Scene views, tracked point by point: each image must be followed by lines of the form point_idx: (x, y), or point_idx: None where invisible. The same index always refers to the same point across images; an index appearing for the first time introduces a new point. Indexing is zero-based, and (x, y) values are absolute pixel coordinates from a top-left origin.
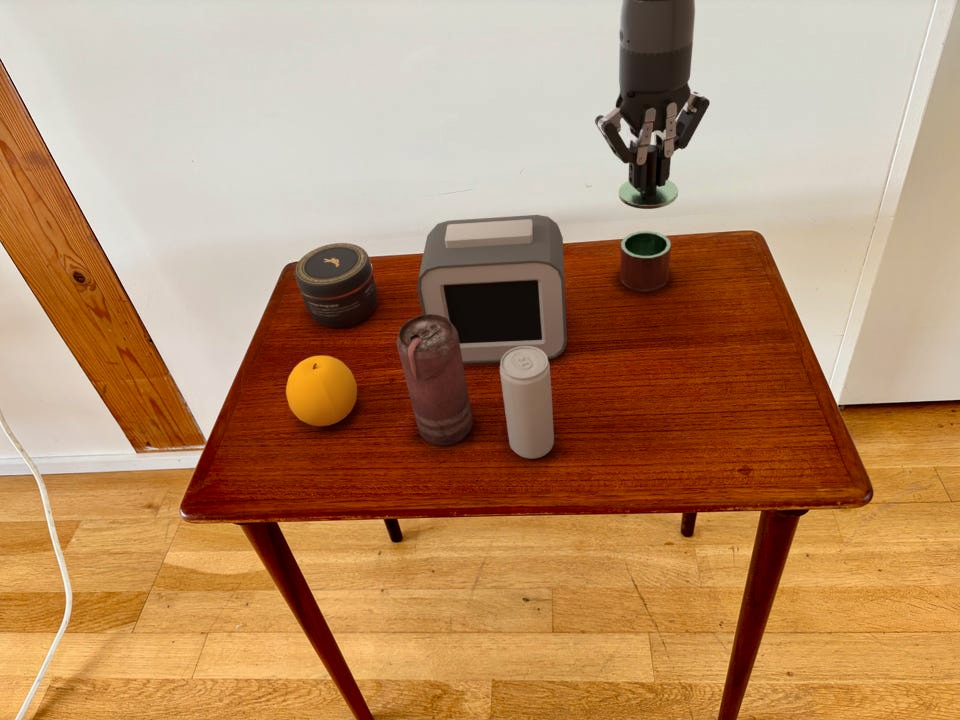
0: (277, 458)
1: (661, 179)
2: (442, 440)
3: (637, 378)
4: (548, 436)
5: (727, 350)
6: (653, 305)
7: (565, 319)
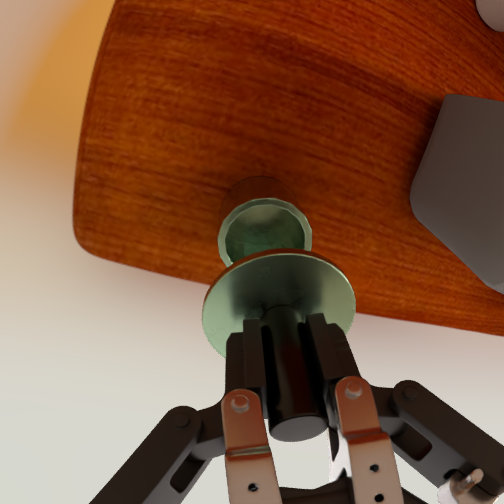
0: None
1: (258, 332)
2: None
3: (367, 12)
4: None
5: (218, 7)
6: (276, 142)
7: (479, 98)
